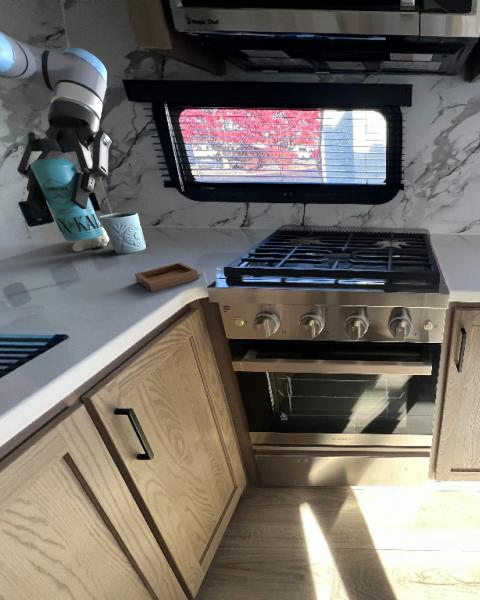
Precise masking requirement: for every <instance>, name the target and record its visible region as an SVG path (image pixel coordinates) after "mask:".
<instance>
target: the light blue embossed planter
mask: <svg viewBox="0 0 480 600" xmlns="http://www.w3.org/2000/svg"><path fill="white" fill-rule="evenodd" d="M98 218H99V221H100V223H101V225H102V227H103V228H104V230H105V231H106V233H107V235H108V237H109V241H110V243H111V245H112V248H113V250H114V252H115V253H116V254H118V255H124V254H125V255H126V254H133V253H138V252H142V251H144V250H145V249H147V245H146V241H145V237H144V233H143V229H142V226H141V222H140V218H139V214H138V213H137V212H131V211H128V212H127V211H125V212H114V213H108V214H103V215H100V216H99V217H98Z"/></svg>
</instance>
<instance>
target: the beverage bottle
mask: <svg viewBox="0 0 480 600" xmlns="http://www.w3.org/2000/svg"><path fill="white" fill-rule="evenodd" d="M28 143H29V146H30V149H31V151H32V152H38V151H62V150H61V148H60V146H59V145H58V143H57V141H56V140H54V139H33V140H28V139H27V144H28ZM30 167H31V169H32V170H33V172H34V174H35V176H36V178H37V181H38V183H39V185H40V187H41V190H42V192H43V194H44V195H43V196H44V197H45V198H46V204H47V206H48V208H49V211H50V212H51V214H52V215H53V219H54V221H55V223H56V226H57V227H58V230H59V232H60V233H61V235H62V237H63V239H65V240H66V241H67V242H76V241H79V240H86V239H92V238H96V237H99V236H102V235H103V231H102V230H103V229H102V228H103V227H102V225H100V224H101V220H100V218H99V217H98V214H97V213H96V211H95V208H94V205H93V204H92V203H93V202H92V200H91V199H90V196H89V197H88V203H87V209H81V208H80V207H78V206H77V205H76V204H74V203H73V202H72V201H71V197H72V192H73V187H74V182H75V176H76V173H79V172H78V170H77V169H78V168H77V167H76V164H75V163H74V162H72V161H70V160H69V159H67V158H66V157H65V158H63V157H62V158H61V159H39V160H34V161H33V163H32V164H31V166H30ZM99 222H100V223H99ZM101 227H102V228H101Z"/></svg>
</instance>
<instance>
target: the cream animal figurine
mask: <svg viewBox="0 0 480 600" xmlns="http://www.w3.org/2000/svg"><path fill="white" fill-rule="evenodd" d="M99 223H100V226H101V228H102V229H103V230H102V231H103V235H102V236H99V237H96V238H92V239H86V240H79V241H75V243H74V244H73V246H71V249H72V251H74V252H75V253H76V252H83V251H85V250H88V249H90V250H91V249H95V248H104V247H107V245H108V243H109V241H110V239H109V237H108V235H107V232H106V230H105V228H104V227H103V226H102V223H101V221H100V222H99Z"/></svg>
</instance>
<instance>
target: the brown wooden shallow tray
mask: <svg viewBox="0 0 480 600" xmlns="http://www.w3.org/2000/svg"><path fill="white" fill-rule="evenodd" d="M134 276H135V279H136V281H137V283H139V284H140V285H141V286H143V287H144V288H146V289H147V290H148V291H149V292H151V293H154V292H157V291H160V290H164V289H168V288H171V287H175V286H178V285H181V284H184V283H188V282H191V281H194V280H198V279H200V276H199V272H198V270H197V269H195V268H193V267H191V266H189V265H187V264H184V263H182V262H175V263H172V264H168V265H164V266H160V267H156V268H151V269H148V270H144V271H140V272H136V273H134Z"/></svg>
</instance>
